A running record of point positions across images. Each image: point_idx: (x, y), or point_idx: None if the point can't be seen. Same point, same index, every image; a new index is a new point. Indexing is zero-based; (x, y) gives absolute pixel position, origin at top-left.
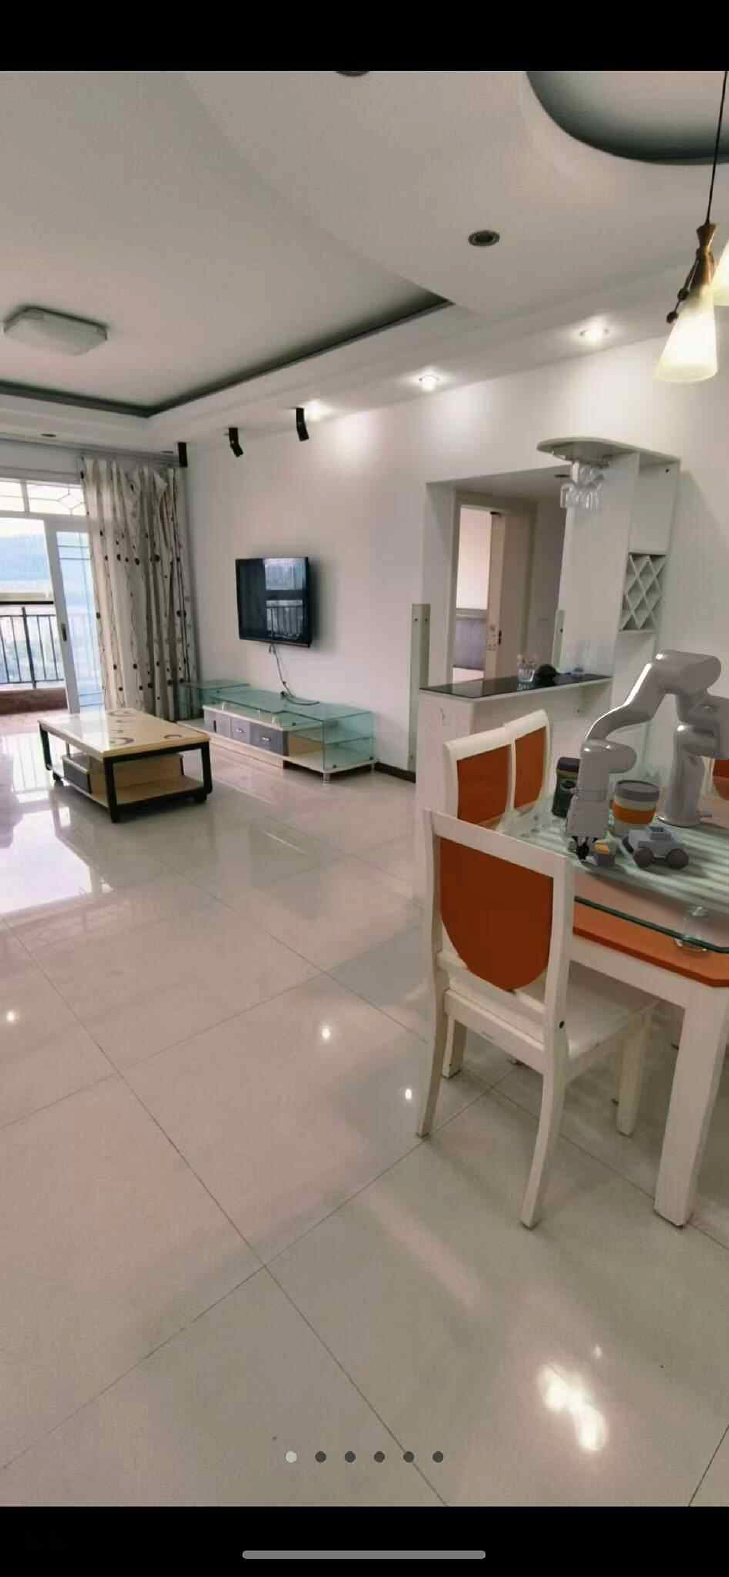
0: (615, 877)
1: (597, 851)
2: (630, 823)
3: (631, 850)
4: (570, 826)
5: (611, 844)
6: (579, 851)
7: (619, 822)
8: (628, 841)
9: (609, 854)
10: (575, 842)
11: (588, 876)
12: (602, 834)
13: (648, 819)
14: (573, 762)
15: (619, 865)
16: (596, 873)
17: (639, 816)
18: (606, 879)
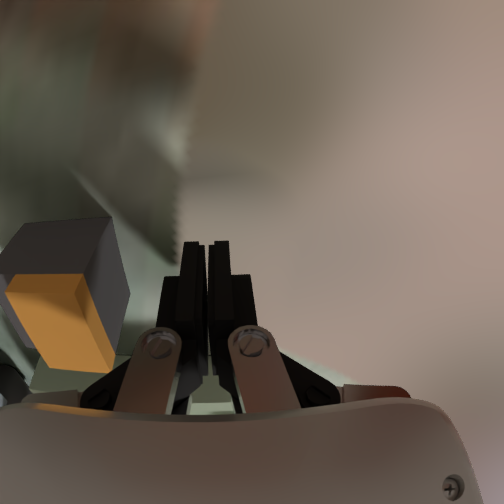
0: (20, 62)
1: (95, 305)
2: None
3: (5, 367)
4: (475, 488)
5: (50, 387)
6: (236, 294)
7: None
8: (2, 397)
9: (17, 272)
10: (224, 396)
11: (207, 16)
12: (7, 435)
13: None
14: None
15: (4, 244)
16: (130, 83)
17: None
18: (82, 4)
